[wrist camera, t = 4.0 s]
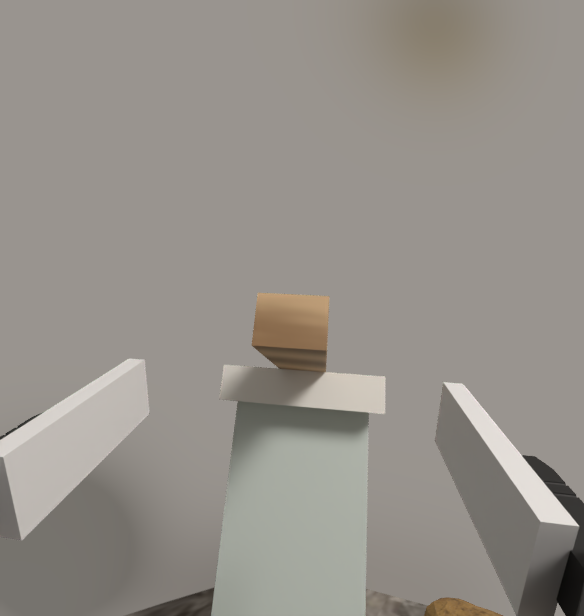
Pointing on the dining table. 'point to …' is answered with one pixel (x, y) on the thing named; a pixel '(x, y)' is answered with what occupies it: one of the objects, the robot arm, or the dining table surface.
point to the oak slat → (292, 330)
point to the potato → (456, 608)
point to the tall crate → (296, 493)
